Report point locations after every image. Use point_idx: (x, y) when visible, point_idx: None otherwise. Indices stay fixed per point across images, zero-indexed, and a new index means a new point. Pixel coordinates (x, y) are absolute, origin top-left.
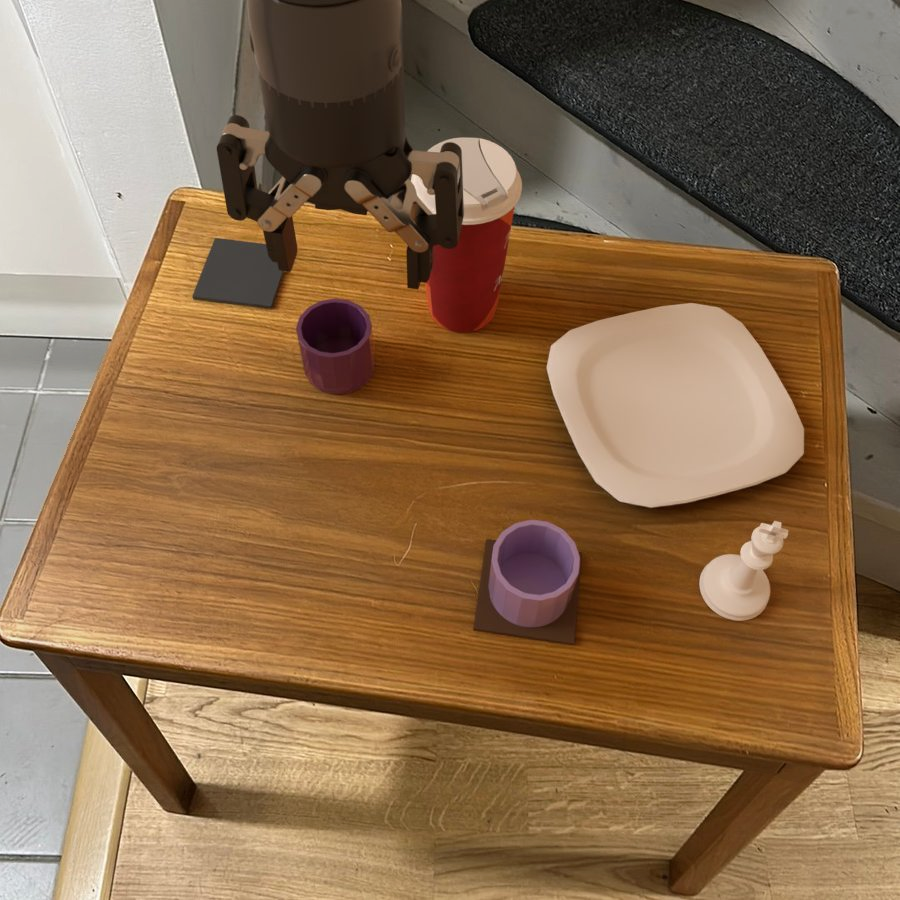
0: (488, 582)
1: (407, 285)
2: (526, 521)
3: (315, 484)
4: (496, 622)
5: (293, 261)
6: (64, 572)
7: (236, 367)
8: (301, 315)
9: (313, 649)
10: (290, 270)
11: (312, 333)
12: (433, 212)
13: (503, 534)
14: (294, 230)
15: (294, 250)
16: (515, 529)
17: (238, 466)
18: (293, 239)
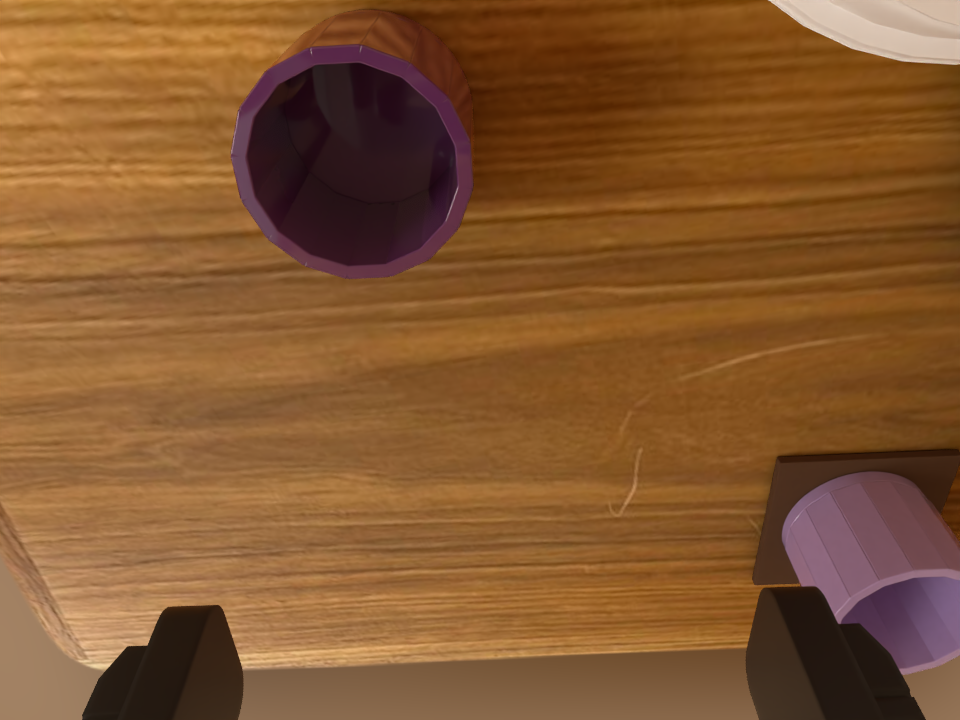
0: (781, 527)
1: (754, 704)
2: (903, 575)
3: (428, 415)
4: (792, 572)
5: (230, 650)
6: (93, 605)
7: (115, 177)
8: (233, 148)
9: (512, 630)
10: (242, 682)
11: (275, 104)
12: (824, 23)
13: (852, 600)
14: (175, 715)
15: (213, 653)
16: (878, 589)
17: (262, 409)
18: (193, 707)
